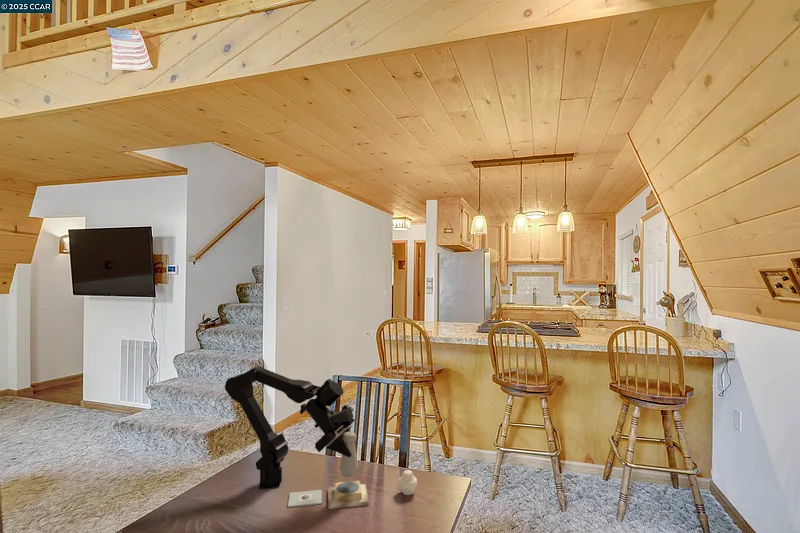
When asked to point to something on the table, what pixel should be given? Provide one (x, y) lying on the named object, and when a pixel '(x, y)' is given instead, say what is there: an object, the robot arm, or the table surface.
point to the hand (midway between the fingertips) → (352, 454)
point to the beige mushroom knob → (349, 463)
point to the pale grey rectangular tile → (305, 498)
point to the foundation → (347, 495)
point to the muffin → (407, 482)
